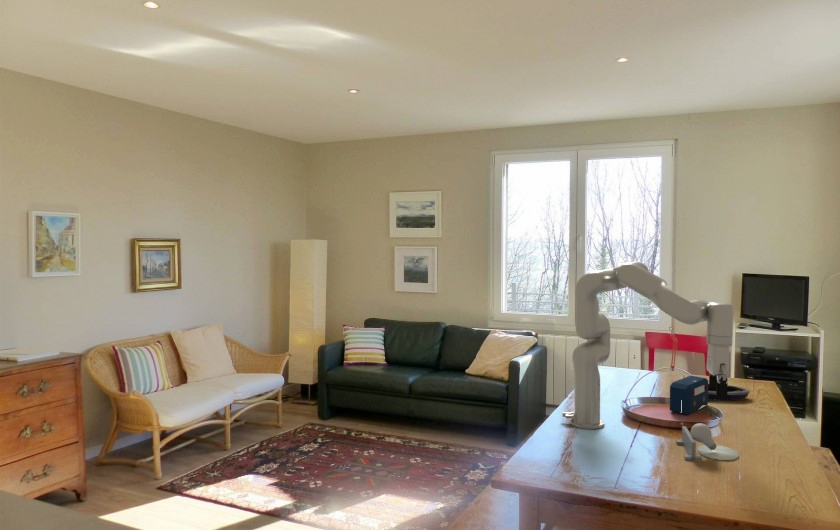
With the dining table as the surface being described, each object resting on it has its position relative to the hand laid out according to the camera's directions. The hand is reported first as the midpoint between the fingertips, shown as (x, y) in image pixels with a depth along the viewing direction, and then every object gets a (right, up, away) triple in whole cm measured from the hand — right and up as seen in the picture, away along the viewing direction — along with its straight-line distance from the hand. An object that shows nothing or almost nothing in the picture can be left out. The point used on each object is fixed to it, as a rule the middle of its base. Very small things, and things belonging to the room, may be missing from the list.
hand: (717, 391), depth 195 cm
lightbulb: (-1, -20, +1) cm, 20 cm away
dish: (+31, -17, +68) cm, 76 cm away
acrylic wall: (-8, -21, +3) cm, 23 cm away
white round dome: (0, -21, +1) cm, 21 cm away
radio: (+13, -18, +49) cm, 54 cm away
